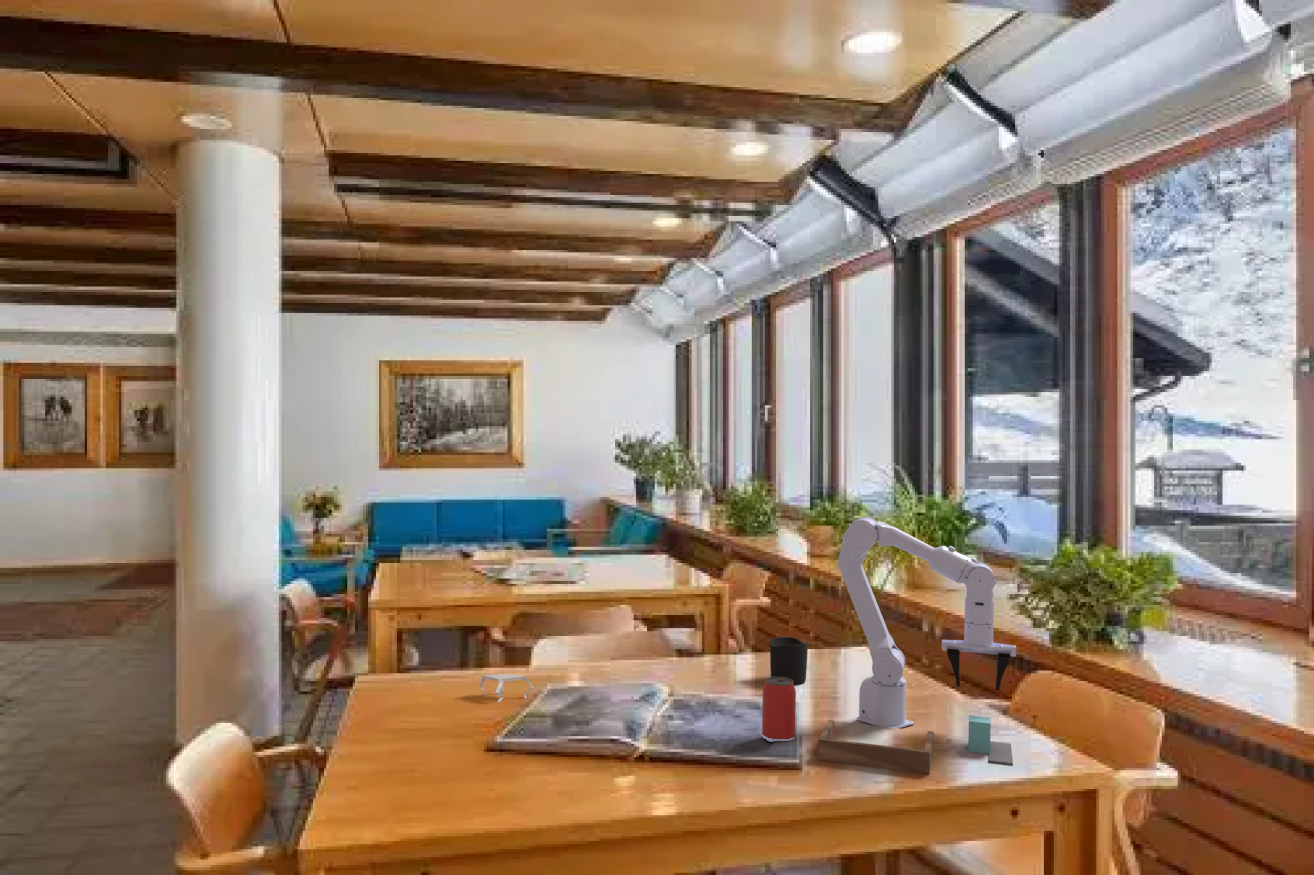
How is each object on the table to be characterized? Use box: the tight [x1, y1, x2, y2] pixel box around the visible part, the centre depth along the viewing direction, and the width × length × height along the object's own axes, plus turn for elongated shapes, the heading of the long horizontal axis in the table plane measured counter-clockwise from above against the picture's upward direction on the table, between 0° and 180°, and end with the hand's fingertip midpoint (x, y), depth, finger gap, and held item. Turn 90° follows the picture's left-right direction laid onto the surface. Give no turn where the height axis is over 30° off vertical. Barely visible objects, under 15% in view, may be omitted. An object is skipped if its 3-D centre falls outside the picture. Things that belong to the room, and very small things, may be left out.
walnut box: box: [817, 719, 934, 775], centre depth 180 cm, size 13×20×4 cm, turn 71°
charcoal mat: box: [987, 740, 1014, 766], centre depth 186 cm, size 12×12×1 cm
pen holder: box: [769, 636, 809, 686], centre depth 237 cm, size 9×9×10 cm
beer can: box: [761, 676, 797, 739], centre depth 191 cm, size 7×7×12 cm
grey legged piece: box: [479, 673, 535, 703], centre depth 219 cm, size 12×8×5 cm
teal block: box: [967, 715, 992, 755], centre depth 185 cm, size 4×4×6 cm
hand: (977, 687), depth 198 cm, fingers open, 7 cm apart
